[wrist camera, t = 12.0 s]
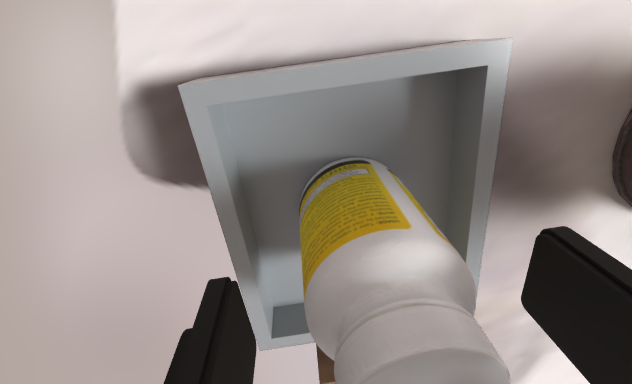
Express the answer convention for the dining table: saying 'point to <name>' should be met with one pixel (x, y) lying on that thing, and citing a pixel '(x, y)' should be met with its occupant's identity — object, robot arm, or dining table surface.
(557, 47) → the dining table surface
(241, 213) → the tray
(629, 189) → the lantern
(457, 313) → the supplement bottle
